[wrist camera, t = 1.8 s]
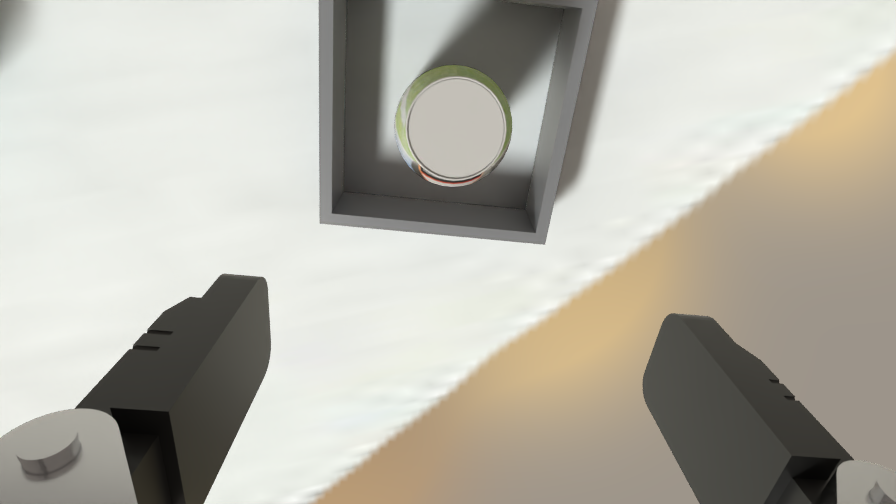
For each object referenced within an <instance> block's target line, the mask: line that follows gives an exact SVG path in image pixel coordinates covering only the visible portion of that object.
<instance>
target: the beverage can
mask: <svg viewBox="0 0 896 504" xmlns="http://www.w3.org/2000/svg"><path fill="white" fill-rule="evenodd" d="M394 128H395V138H396V142H397V146H398V148H399V151H400V153H401V155H402V157H403V159H404V160H405V161H406V163H407V164H408V166H409V167H410V168H411V169H412V170H413V171H414V172H415V173H416V174H418V175H419V176H421V177H422V178H423V179H425V180H427V181H429V182H431V183H434V184H438V185H441V186H449V187H456V186H464V185H468V184H472V183H474V182H476V181H479V180H481V179H482V178H484V177H485V176H487V175H488V174H490V173H491V172H492V171H493V170H494V169H495V168H496V167H497V166H498V164H499V163H500V162H501V160H502V159H503V157H504V155H505V153H506V151H507V149H508V146H509V143H510V140H511V133H512V117H511V112H510V107H509V105H508V102H507V99H506V97H505V96H504V94H503V92H502V91H501V89H500V88H499V87H498V86H497V84H496V83H495V82H494V81H493V80H492V79H490V78H489V77H488V76H487V75H485V74H484V73H482V72H480V71H478V70H476V69H473V68H470V67H467V66H460V65H445V66H441V67H437V68H434V69H432V70H429V71H427V72H425V73H424V74H422V75H421V76H419V77H418V78H416V79H415V80H414V81H413V82H412V83H411V84H410V85H409V86H408V88H407V89H406V91H405V92H404V94H403V95H402V97H401V100H400V102H399V104H398V107H397V111H396V115H395V124H394Z"/></svg>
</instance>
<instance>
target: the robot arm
mask: <svg viewBox="0 0 896 504" xmlns="http://www.w3.org/2000/svg"><path fill="white" fill-rule="evenodd" d="M270 351H271V337H270V319H269V302H268V287H267V282H266V280H265V278H264V277H256V276H244V275H233V274H222V275H220V276H219V278H218V279H217V280H216V281H215V282H214V283H213V285H212V286H211V287H210V288H209V289H208V291H207V292H206V293H205V294H204V295H203V297H202V298H196V297H189V298H187V299H185V300H184V301H182V302H180V303H178V304H176V305H175V306H173V307H171V308H169V309H168V310H166V311H164V312H163V313H162V314H161V315H160V317H159V318H158V319H157V320H156V321H155V322H154V323H153V324H152V325H151V326H150V327H149V328H148V331H147V333H144V334H143V335H142V336H141V337H140V338H139V339H138V340H137V341H136V343H135V344H134V345H133V349H129V350H128V351H127V352H126V353H125V354H124V356H123V357H122V358H121V359H120V360H119V361H118V362H117V363H116V364H115V365H114V366H113V367H112V369H111V370H110V371H109V372H108V373H107V374H106V375H105V376H104V377H103V378H102V379H101V380H100V382H99V383H98V384H97V385H96V386H95V387H94V388H93V389H92V390H91V391H90V392H89V393H88V395H87V396H86V397H85V398H84V399H83V400H82V401H81V402H80V403H79V404H78V405H77V406H76V408H75V409H69V410H63V411H58V412H54V413H50V414H47V415H44V416H41V417H38V418H35V419H33V420H31V421H29V422H26V423H24V424H22V425H20V426H18V427H17V428H15V429H13V430H11V431H10V432H8V433H7V434H5V435H4V436H2V437H1V438H0V504H204V502H205V499H206V497H207V495H208V493H209V491H210V489H211V487H212V485H213V483H214V481H215V479H216V477H217V474H218V472H219V470H220V468H221V466H222V464H223V462H224V460H225V458H226V456H227V454H228V451H229V449H230V447H231V445H232V443H233V441H234V439H235V437H236V435H237V433H238V431H239V428H240V426H241V424H242V422H243V420H244V418H245V416H246V414H247V412H248V410H249V408H250V406H251V403H252V401H253V399H254V397H255V395H256V393H257V391H258V389H259V387H260V385H261V383H262V380H263V378H264V376H265V374H266V371H267V368H268V364H269V359H270ZM643 394H644V399H645V402H646V404H647V406H648V408H649V410H650V412H651V414H652V416H653V418H654V419H655V421H656V423H657V425H658V427H659V429H660V431H661V433H662V434H663V436H664V438H665V440H666V442H667V444H668V446H669V447H670V449H671V451H672V453H673V455H674V457H675V459H676V460H677V462H678V464H679V466H680V468H681V470H682V472H683V473H684V475H685V477H686V479H687V481H688V483H689V485H690V487H691V488H692V490H693V492H694V494H695V496H696V498H697V500H698V501H699V503H700V504H896V472H895V471H893V470H891V469H888V468H886V467H884V466H881V465H877V464H875V463H870V462H866V461H859V460H854V459H853V458H852V457H851V456H850V455H849V454H848V453H847V452H846V451H845V449H844V448H843V447H842V446H841V445H840V444H839V443H838V442H837V441H836V440H835V439H834V438H833V437H832V436H831V435H830V433H829V432H828V431H827V430H826V429H825V428H824V427H823V426H822V425H821V424H820V423H819V422H818V421H817V420H816V419H815V417H813V415H812V414H811V413H810V412H809V411H808V410H807V409H806V408H805V407H804V406H803V405H802V404H801V403H800V401H795V398H794V397H795V396H794V395H793V394H792V393H791V392H790V391H789V390H788V389H787V388H786V387H785V386H784V384H780V383H779V379H778V378H777V377H776V376H775V375H774V374H773V373H772V372H771V371H770V370H769V368H768V367H767V366H766V365H765V364H764V363H763V362H762V361H761V360H760V359H758V358H757V357H755V356H754V355H752V354H751V353H749V352H748V351H746V350H745V349H744V348H742V347H741V346H739V345H738V344H736V343H735V342H734V341H733V340H732V339H731V337H729V335H728V334H727V333H726V332H725V331H724V330H723V329H722V328H721V326H720V325H719V324H718V323H717V322H716V321H715V320H714V319H713V318H711V317H708V316H698V315H685V314H675V313H674V314H669V315H668V316H667V317H666V318H665V319H664V321H663V323H662V326H661V329H660V331H659V334H658V337H657V339H656V342H655V345H654V348H653V351H652V353H651V356H650V359H649V362H648V364H647V367H646V370H645V373H644V377H643Z"/></svg>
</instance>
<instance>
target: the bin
mask: <svg viewBox="0 0 896 504" xmlns="http://www.w3.org/2000/svg"><path fill="white" fill-rule="evenodd" d="M497 1H504V2H512V3H520V4H528V5H536V6H544V7H552V8H560V9H564V12H563V17H562V22H561V27H560V33H559V38H558V43H557V48H556V53H555V58H554V64H553V69H552V74H551V79H550V84H549V90H548V95H547V100H546V105H545V110H544V115H543V121H542V126H541V131H540V136H539V141H538V147H537V152H536V157H535V162H534V167H533V172H532V178H531V183H530V188H529V193H528V198H527V204H526V209H525V210H524V209H513V208H503V207H493V206H483V205H473V204H463V203H453V202H442V201H432V200H422V199H412V198H402V197H392V196H381V195H371V194H361V193H351V192H343V181H344V126H345V72H346V17H347V0H319V171H320V224H331V225H342V226H352V227H363V228H374V229H384V230H395V231H406V232H416V233H427V234H438V235H448V236H459V237H470V238H480V239H491V240H501V241H512V242H523V243H533V244H544V245H545V242H546V237H547V233H548V228H549V224H550V219H551V215H552V210H553V205H554V201H555V196H556V192H557V187H558V183H559V178H560V174H561V169H562V164H563V160H564V155H565V151H566V146H567V142H568V137H569V132H570V128H571V123H572V119H573V114H574V110H575V105H576V100H577V96H578V91H579V87H580V82H581V78H582V73H583V69H584V64H585V59H586V55H587V50H588V46H589V41H590V37H591V32H592V27H593V23H594V18H595V14H596V9H597V5H598V0H497Z"/></svg>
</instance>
